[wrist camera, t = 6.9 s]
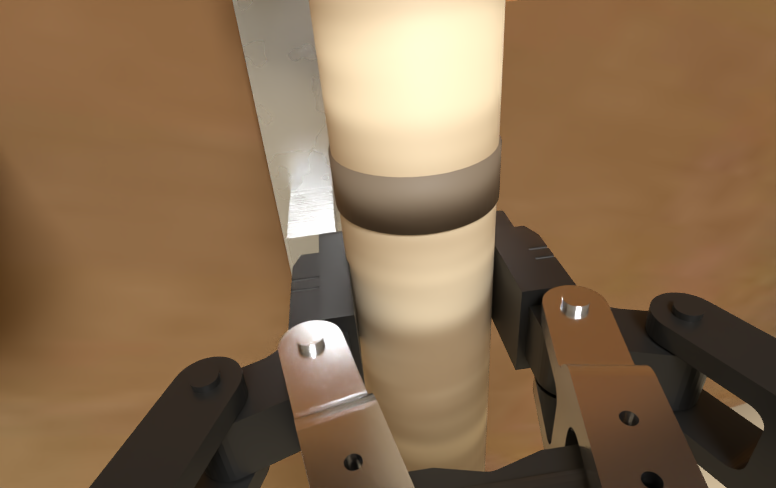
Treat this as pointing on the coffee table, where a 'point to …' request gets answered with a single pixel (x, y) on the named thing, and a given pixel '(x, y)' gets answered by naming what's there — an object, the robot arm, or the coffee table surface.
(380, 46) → the dowel
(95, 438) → the coffee table surface
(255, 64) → the white peg stand
